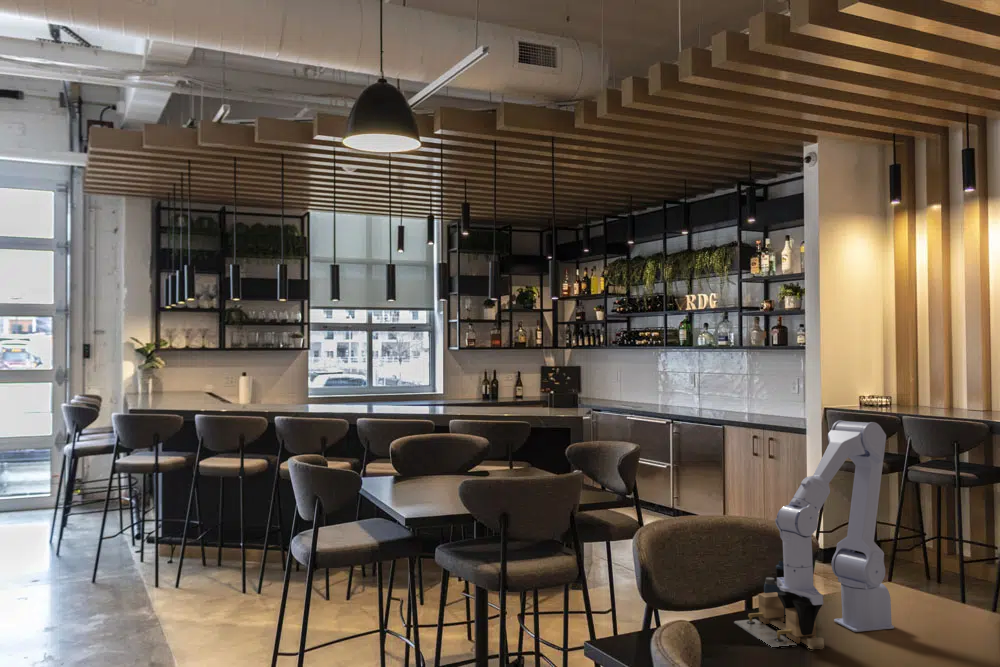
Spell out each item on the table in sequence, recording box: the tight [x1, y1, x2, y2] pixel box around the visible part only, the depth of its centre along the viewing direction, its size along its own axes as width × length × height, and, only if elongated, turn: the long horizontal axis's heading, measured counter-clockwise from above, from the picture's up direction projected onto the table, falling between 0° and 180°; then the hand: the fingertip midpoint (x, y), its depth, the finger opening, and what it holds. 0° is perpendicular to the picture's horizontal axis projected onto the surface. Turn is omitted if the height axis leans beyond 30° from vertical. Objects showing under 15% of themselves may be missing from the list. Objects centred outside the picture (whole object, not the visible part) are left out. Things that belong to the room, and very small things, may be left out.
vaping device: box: [763, 560, 785, 615], centre depth 189 cm, size 3×5×12 cm, turn 78°
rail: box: [768, 618, 825, 649], centre depth 176 cm, size 3×22×2 cm, turn 11°
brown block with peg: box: [776, 608, 817, 644], centre depth 171 cm, size 8×4×6 cm, turn 100°
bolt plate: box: [733, 618, 797, 648], centre depth 176 cm, size 5×17×1 cm, turn 11°
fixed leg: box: [747, 592, 785, 625], centre depth 183 cm, size 8×3×6 cm, turn 101°
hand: (800, 630), depth 171 cm, fingers closed on brown block with peg, 4 cm apart
